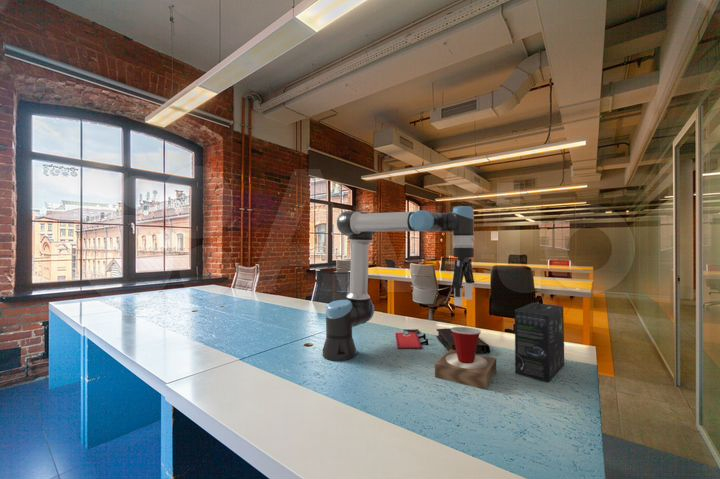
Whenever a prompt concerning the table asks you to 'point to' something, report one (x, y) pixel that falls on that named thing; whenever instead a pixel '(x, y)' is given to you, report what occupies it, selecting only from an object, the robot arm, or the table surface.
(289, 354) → the table surface
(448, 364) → the walnut pedestal
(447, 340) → the diary
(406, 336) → the red board with handle
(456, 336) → the plastic cup
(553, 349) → the headset box
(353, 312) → the robot arm
